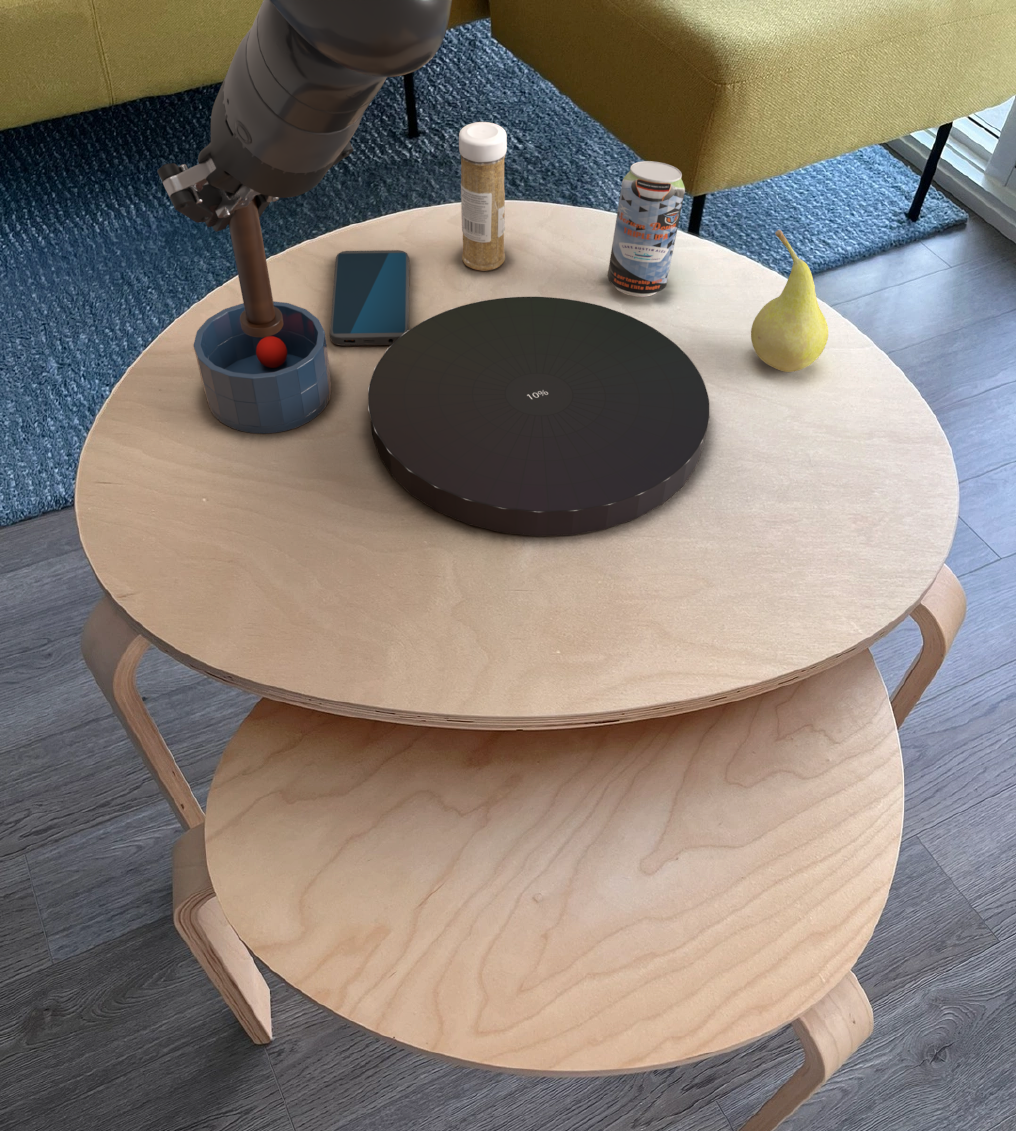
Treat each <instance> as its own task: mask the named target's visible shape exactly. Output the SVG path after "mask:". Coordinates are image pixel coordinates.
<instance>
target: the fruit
mask: <svg viewBox="0 0 1016 1131" xmlns="http://www.w3.org/2000/svg"><path fill="white" fill-rule="evenodd" d="M774 235H775V236H776V237H777V238H778V240H779V241H780V242H781V243H782V245H783V246H784V247H785V248H786V249H787V251H788V254H789V255H790V257H791V260H792V267H791V270H790V274H789V276H788V278H787V280H786V283H785V285H784V287H783V289H782V291H781V293H780V295H778V296H777V297H775V298H773V299H771V300H770V301H768V302H767V303H766V304H765V305H763V307H762V308H761V309H760V310H759V312H757V315H756V316H755V317H754V320H753V322H752V325H751V329H750V340H751V344H752V348H753V350H754V352H755V354H756V355H757V357H758V358H759V359H760V360H761V361H763V363H764V364H766V365H768V366H770V367H771V368H774V369H776V370H777V371H779V372H780V371H781V372H784V373H792V372H793V373H794V372H798V371H801V370H803V369H806V368H807V367H809V366H810V365H812V364H813V363H814V362H816V360H817V359H818V358H819V357H820V356H821V355H822V353H823V352H824V350H825V348H826V345H827V343H828V340H829V339H828V338H829V326H828V322H827V320H826V316H825V315H824V313H823V312H822V310H821V307H820V306H819V302H818V299H817V294H816V285H815V282H814V278H813V277H814V276H813V274H812V271H811V269H810V267H809V265H808V264H807V263H806V261H804V260H803V259H801V258H799V257H798V255H797V254H796V252H795V251H794V249H793V247H792V245H791V244H790V243H789V241H788V239H787V237H786V236H785V235H784V233H783V231H782V230H781V229H777V230H776V231H775V233H774Z"/></svg>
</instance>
